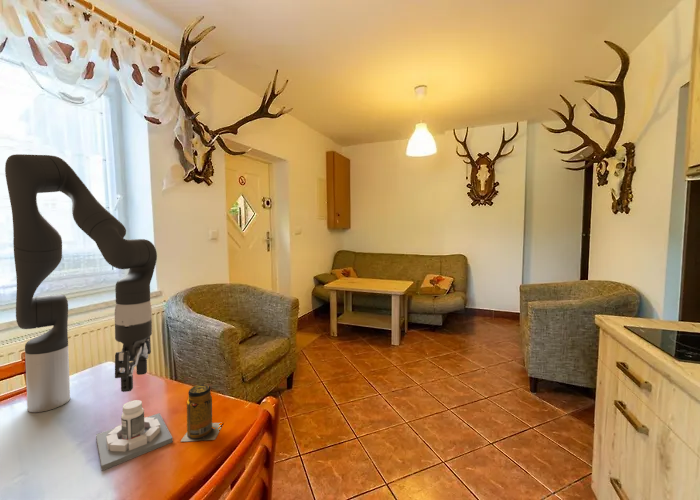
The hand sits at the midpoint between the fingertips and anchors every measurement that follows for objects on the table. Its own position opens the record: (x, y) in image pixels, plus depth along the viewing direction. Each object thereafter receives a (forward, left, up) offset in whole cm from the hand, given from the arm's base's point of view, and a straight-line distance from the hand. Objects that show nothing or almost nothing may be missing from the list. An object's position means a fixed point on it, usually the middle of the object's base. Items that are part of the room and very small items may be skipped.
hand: (134, 381), depth 77 cm
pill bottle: (0, -1, -14) cm, 14 cm away
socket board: (0, 0, -15) cm, 15 cm away
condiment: (+8, +14, -15) cm, 22 cm away
